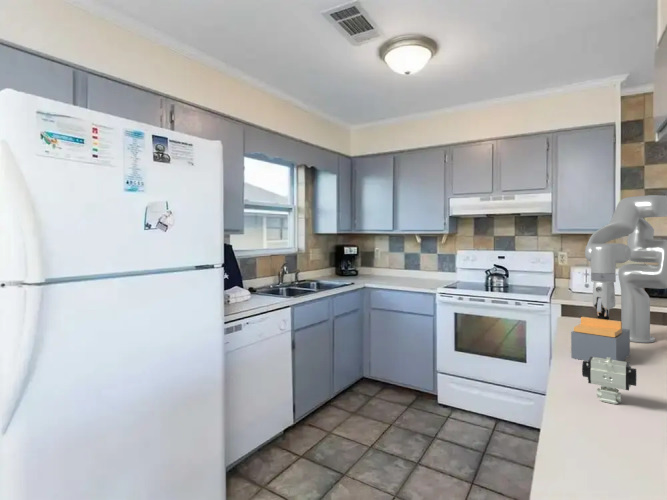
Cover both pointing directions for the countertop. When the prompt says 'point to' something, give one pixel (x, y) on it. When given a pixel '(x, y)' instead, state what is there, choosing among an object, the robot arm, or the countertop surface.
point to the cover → (599, 327)
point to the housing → (600, 346)
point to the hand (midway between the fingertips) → (603, 326)
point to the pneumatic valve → (609, 377)
